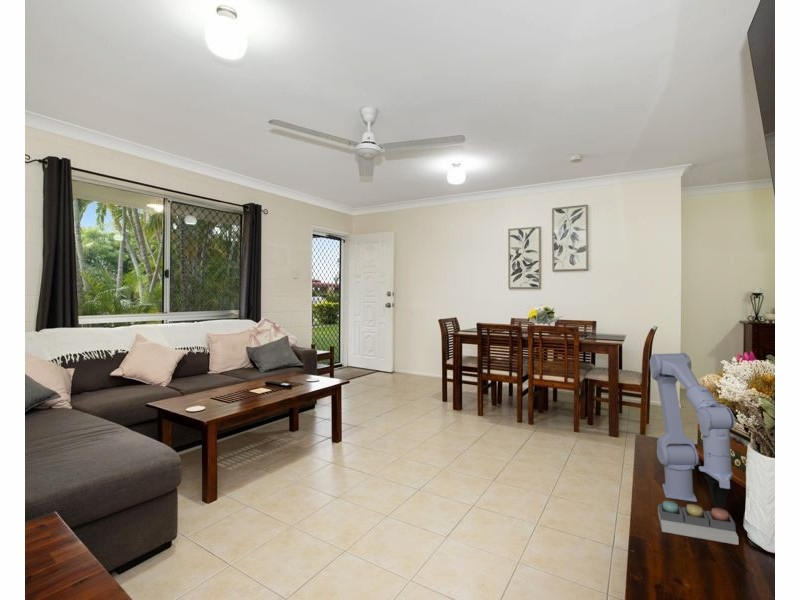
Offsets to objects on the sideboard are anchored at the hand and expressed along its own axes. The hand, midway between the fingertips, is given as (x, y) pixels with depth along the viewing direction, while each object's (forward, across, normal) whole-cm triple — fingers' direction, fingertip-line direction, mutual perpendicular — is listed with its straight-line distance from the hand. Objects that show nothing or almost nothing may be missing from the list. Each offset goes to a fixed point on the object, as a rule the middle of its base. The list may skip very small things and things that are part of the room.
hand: (719, 504), depth 109 cm
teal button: (+4, 0, -11) cm, 12 cm away
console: (+7, 0, -6) cm, 9 cm away
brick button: (+4, 0, 0) cm, 4 cm away
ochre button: (+4, 0, -5) cm, 7 cm away
